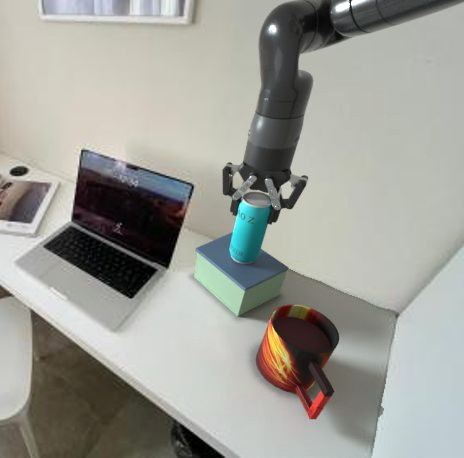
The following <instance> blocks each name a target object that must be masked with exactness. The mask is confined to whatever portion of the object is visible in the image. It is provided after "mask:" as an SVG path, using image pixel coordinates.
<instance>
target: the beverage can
mask: <svg viewBox="0 0 464 458" xmlns="http://www.w3.org/2000/svg"><path fill="white" fill-rule="evenodd" d="M272 207H273V204H272V200H271V199H270V197H269V194H268V193H265V192H262V191H249V192H245V193H244V194H242V199H241V201H240V203H239V207H238V212H237V216H235V221H234V226H233V231H232V232H233V234H232V239H231V243H230V248H229V251H230V254H231V257H232V259H233V260H234V261H236V262H238V263H240V264H250V263H252V262H253V261H254V260H255V259H256V258H257V257H258V256H259V253H260V250H261V249H262V246H263V242H264V240H265V236H266V233H267V229H268V227H269V226H268V225H269V224H268V220H269V217H270V213H271V210H272Z"/></svg>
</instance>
